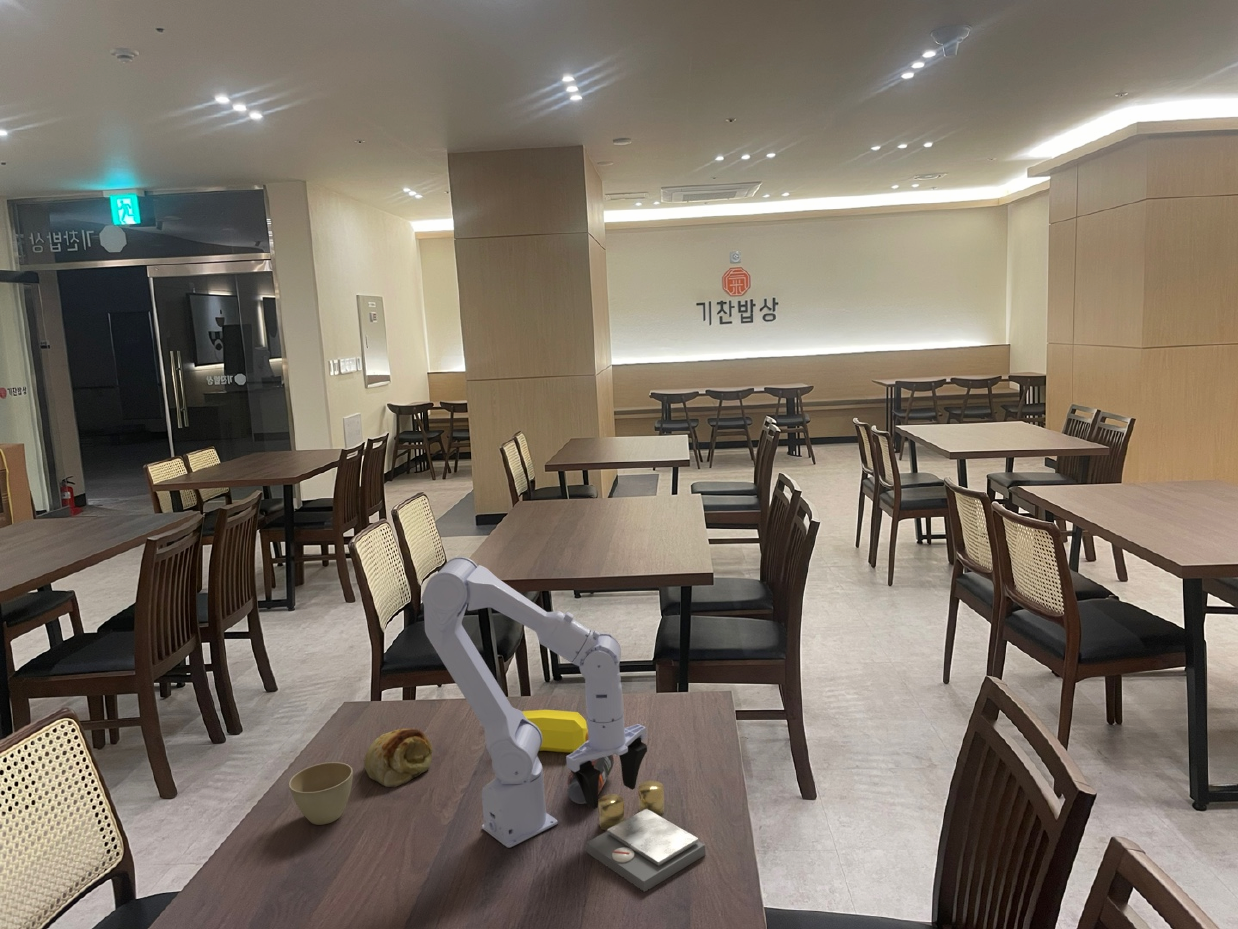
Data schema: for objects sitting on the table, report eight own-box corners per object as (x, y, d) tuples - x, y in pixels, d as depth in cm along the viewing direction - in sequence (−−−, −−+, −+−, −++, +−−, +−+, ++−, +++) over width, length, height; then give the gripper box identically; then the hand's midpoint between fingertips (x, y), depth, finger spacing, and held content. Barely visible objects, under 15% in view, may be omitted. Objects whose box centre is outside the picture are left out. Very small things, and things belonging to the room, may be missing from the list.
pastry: (412, 791, 151) (407, 748, 150) (349, 785, 155) (344, 743, 153) (448, 752, 165) (444, 712, 163) (389, 747, 168) (385, 708, 167)
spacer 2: (651, 820, 138) (650, 796, 137) (634, 810, 141) (633, 787, 140) (669, 810, 140) (668, 787, 140) (652, 800, 143) (651, 778, 143)
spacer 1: (610, 835, 135) (609, 811, 134) (594, 824, 138) (592, 801, 137) (630, 824, 137) (628, 800, 136) (614, 814, 140) (612, 791, 139)
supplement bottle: (575, 754, 153) (554, 788, 143) (598, 735, 152) (578, 769, 141) (598, 780, 153) (578, 816, 142) (621, 761, 151) (603, 796, 141)
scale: (644, 892, 120) (643, 879, 120) (586, 852, 130) (585, 840, 130) (705, 855, 128) (704, 842, 128) (646, 820, 138) (645, 808, 138)
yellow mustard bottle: (590, 757, 159) (597, 738, 167) (587, 723, 158) (595, 705, 166) (495, 756, 162) (506, 736, 170) (492, 722, 161) (503, 704, 169)
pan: (658, 868, 123) (658, 862, 123) (607, 835, 132) (607, 829, 132) (698, 844, 128) (698, 838, 128) (646, 814, 137) (646, 808, 137)
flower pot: (368, 803, 148) (364, 764, 147) (334, 837, 138) (329, 795, 137) (317, 797, 151) (312, 759, 150) (280, 830, 141) (275, 789, 140)
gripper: (584, 739, 127) (590, 825, 129) (657, 706, 136) (662, 787, 138) (555, 724, 132) (562, 807, 134) (627, 694, 141) (633, 772, 143)
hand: (611, 796), depth 137 cm, fingers open, 7 cm apart
